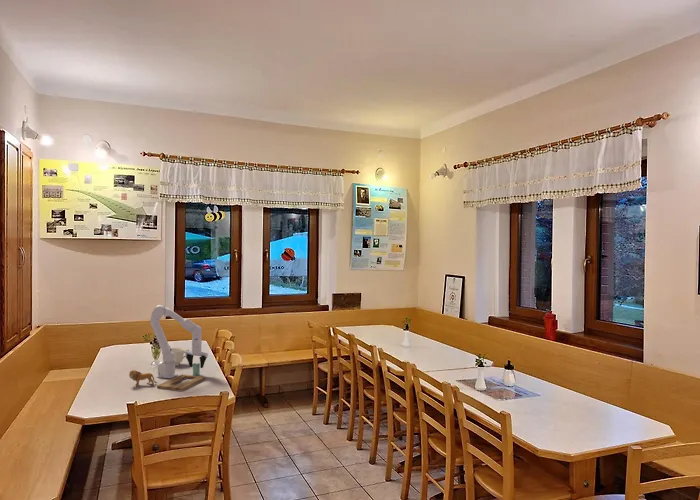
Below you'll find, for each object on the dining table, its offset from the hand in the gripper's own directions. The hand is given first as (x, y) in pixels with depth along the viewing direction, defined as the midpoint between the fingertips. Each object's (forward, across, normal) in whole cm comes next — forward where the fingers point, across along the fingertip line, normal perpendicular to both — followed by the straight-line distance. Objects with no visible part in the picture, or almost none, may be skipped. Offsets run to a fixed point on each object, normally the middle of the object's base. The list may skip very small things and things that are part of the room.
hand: (196, 367), depth 302 cm
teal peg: (+5, 0, 0) cm, 5 cm away
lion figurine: (+5, +18, +28) cm, 33 cm away
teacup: (+5, +25, -18) cm, 31 cm away
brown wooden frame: (+5, -2, +18) cm, 19 cm away
